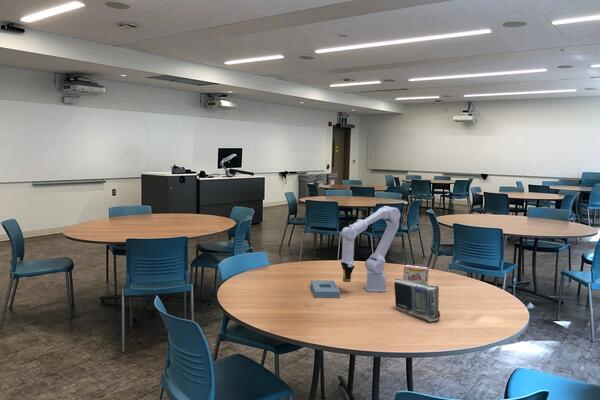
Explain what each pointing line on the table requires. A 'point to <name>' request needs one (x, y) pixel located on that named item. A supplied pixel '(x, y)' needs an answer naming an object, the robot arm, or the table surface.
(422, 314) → the radio
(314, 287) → the jig
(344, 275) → the brass cylinder
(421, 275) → the candy bar box
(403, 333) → the table surface
